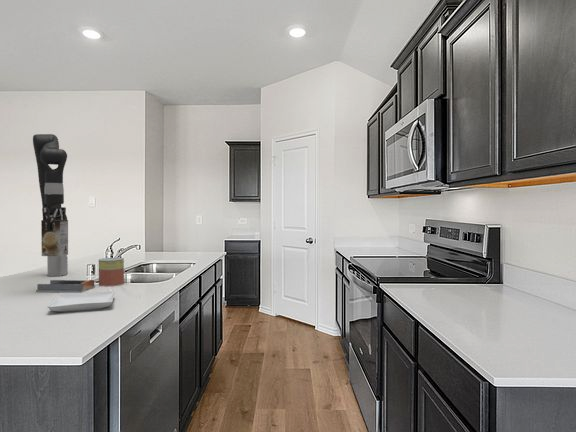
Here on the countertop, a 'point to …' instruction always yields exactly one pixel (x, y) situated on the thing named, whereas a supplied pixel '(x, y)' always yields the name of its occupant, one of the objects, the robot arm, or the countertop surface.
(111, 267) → the canned food
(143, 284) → the countertop surface
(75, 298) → the salad plate
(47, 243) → the coffee box
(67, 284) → the gray orange tray
